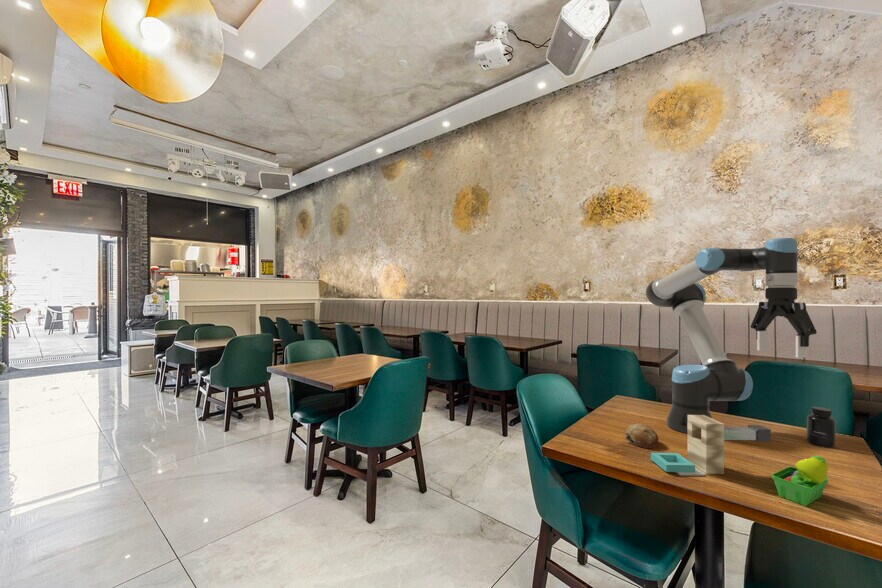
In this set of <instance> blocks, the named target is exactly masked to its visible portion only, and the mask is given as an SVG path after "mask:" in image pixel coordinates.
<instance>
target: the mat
mask: <svg viewBox="0 0 882 588" xmlns="http://www.w3.org/2000/svg"><path fill="white" fill-rule="evenodd" d="M669 463H676V462H669ZM675 473H676V474H677V475H679V476H692V477H693V476H698V477H699V476H702V477H703V476H705V477H706V473H704V472H703V471H701V470H700V469H698V468H697V467H695V472H675Z"/></svg>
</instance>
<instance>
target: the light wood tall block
mask: <svg viewBox="0 0 882 588" xmlns="http://www.w3.org/2000/svg"><path fill="white" fill-rule="evenodd" d="M724 427H725V424H724V423H722V422H720V421H718V420H716V419H714V418H710V417H707V416H705V415H688V424H687V433H686V434H687V443H686V445H687V454H686V456H687V457H686V459H687V460H688V461H690V462H691V463H693V464H694V465H695V468H697V469H698V470H700V471H701V472H703V473H704V474H705V475H724V474H725V440H724Z"/></svg>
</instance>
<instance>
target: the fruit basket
mask: <svg viewBox="0 0 882 588" xmlns="http://www.w3.org/2000/svg"><path fill="white" fill-rule="evenodd" d="M828 470H829V465H828V463H827V461H826V459H824V457H822V456H819V455H813V456H811V457H809V458H805V459H800V460H798V461H797V462H796V463H795V467H794V466H787V467H785V468H783V469H781V470H779V471H776V472H774V473H772V474H771V477H772V480H774V481H773V482H774V484H775V487H776V488H775V489H776V491H777V493H778V496H779V497H780V498H784V499H786V500H788V501H791V502H794V503H795V504H799V505H801V506H804V507H807V506H808V505H810V504H812V503H813V502H815V501H816V500H818V499H820V498H821V497H822V495H823V493H824V490H825V487H826V484H827V483H828V482H829V480H830V479H829V478H828Z"/></svg>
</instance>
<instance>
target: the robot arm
mask: <svg viewBox="0 0 882 588" xmlns="http://www.w3.org/2000/svg"><path fill="white" fill-rule="evenodd" d="M798 253H799V250H798V241H797V239H795V238H793V237H780V238H779V237H776V238H771V239H768V240H766V241H765V245H764V246H763V247H756V248H723V247H722V248H718V247H710V248H703V249H700V250H699V251H698V254H696V256H695V259H694V260H692V261H691V262H689V263H687V264H685V265H683V266H682V267H680V268H678V269H676V270H674V271H673V272H672V273H669V274H667V275H666V276H664V277H658V278H655V279H654V280H653V281H651V282H650V283H649V284H648V285H647V287H646V289H645V296H646V299H647V300H648V302H650V303H651V304H652V305H654V306H657V307H660V308H671V309H672V311H673V313H674V315H676V316H679V317H680V319H681V321H682V323H683V325H684V328H685V330H686V332H687V334H688V336H689V338H690V341H691V342H692V345H693V347H694V349H695V352H696V354H697V356H698V358H699V360H700V362H701V364H702V365H701V364H681V365H677V366H676V367H675V366H674V368H673V369H672V374H671V381H672V382H671V386H672V387H671V394H672V395H671V396H672V397H671V407H670V410H669V413H668V415H667V417H666V426H667V427H669V428H670V429H672V430H675V431H677V432H680V433H683V434H684V433H685V434H687V424H688V415H705V416H707V417H710V418H712V414H711V412H710V402H711V401H712V402H713V401H714V402H715V401H716V402H720V401H721V402H736V401H745V400H747V399H748V398H750V396H751V394H752V392H753V388H754V382H753V378H752V376H751V375H750V373H749V372H748V371H746V370H745V369H743V368H738V365H737V364H736V362H735V361H734V360H732V359H730V358H728V357H727V355H726V352H725V351H724V349H723V347H722V345H721V342H720V341H719V339H718V337H717V335H716V333H715V331H714V330H713V327H712V326H711V324H710V322H709V319H708V316H706V314H705V312H704V309H703V308H704V307H705V302H706V299H707V297H706V295H707V293H706V290H705V288H704V287H703V286H702V284H700V283H699V282H700V281H702V280H704V279H706V278H708V277H710V276H712V275H714V274H717V273H719V272H721V271H740V272H753V271H765V286H766V288H764V290H765V293H764V294H765V299H766V300H767V301H759V302H758V308H757V310H756V313H755V315H754V318H753V320H752V322H751V325H750V328H751V329H754V330H755V331H756V333H755V335H756V341H757V345H756V347H757V348H756V349H757V351H758V352H759V351H763V352H766V351H768V330H767V328H768V327H769V326H770V325H771V323H772V322H773V320H775V319H776V318H777V317H781V318H785V319H787V320H788V322H789V324H790V325H791V326H792V327H793V329H794V331H796V333H797V334H796V335H795V358H799V359H800V358H801V359H802V358H805V359H806V358H808V347H809V346H810V337H811V336H812V335H816V334H817V329H816V326H815V325H814V323H813V321H812V319H811V317H810V315H809V313H808V311H807V304H806V302H795V300H797V299H798V288H797V287H796V286H799V285H798V256H799V255H798ZM712 419H713V418H712Z"/></svg>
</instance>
